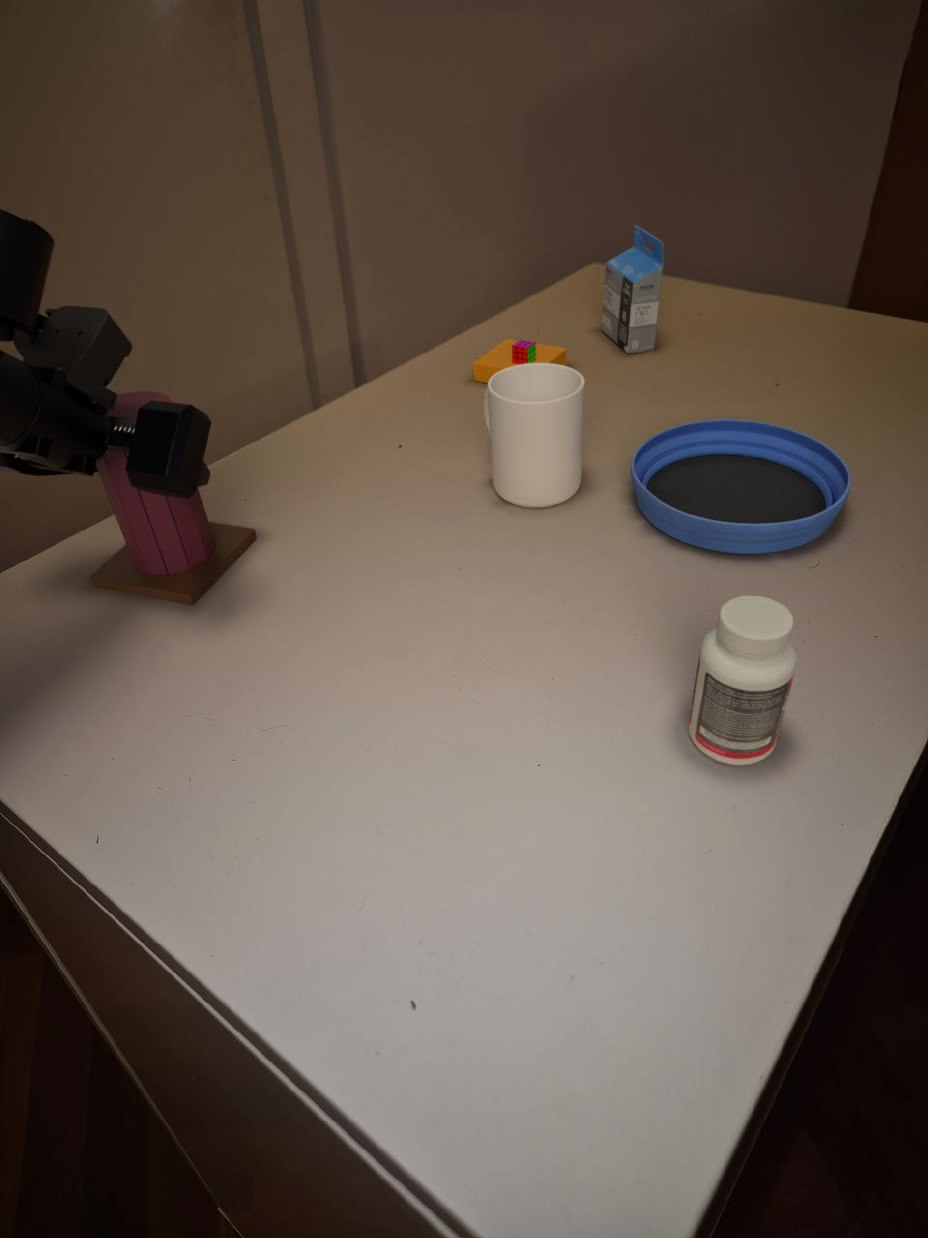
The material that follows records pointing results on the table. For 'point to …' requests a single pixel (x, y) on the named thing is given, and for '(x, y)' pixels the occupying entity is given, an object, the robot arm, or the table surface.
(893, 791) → the table surface
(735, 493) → the bowl
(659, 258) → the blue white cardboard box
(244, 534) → the hat stand
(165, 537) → the maroon grooved cylinder
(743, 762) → the pill bottle
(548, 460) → the mug
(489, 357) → the orange slab with cube
